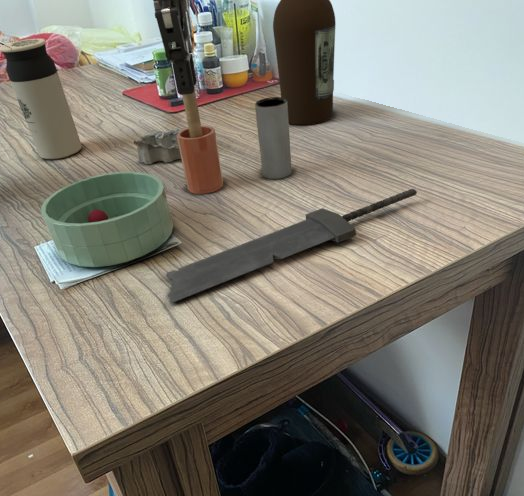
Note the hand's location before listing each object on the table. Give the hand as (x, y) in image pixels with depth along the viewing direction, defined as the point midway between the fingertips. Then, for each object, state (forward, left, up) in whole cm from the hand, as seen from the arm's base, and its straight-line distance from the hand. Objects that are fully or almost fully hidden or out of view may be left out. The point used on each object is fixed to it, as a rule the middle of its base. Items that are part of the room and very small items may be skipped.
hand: (187, 88), depth 69 cm
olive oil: (+18, +27, -14) cm, 35 cm away
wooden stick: (0, 0, -13) cm, 13 cm away
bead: (-14, -12, -12) cm, 21 cm away
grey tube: (+11, +2, -14) cm, 18 cm away
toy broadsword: (+13, -20, -14) cm, 27 cm away
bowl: (-11, -14, -14) cm, 22 cm away
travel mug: (-29, +23, -14) cm, 40 cm away
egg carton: (-7, +15, -14) cm, 22 cm away
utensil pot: (0, 0, -14) cm, 14 cm away
